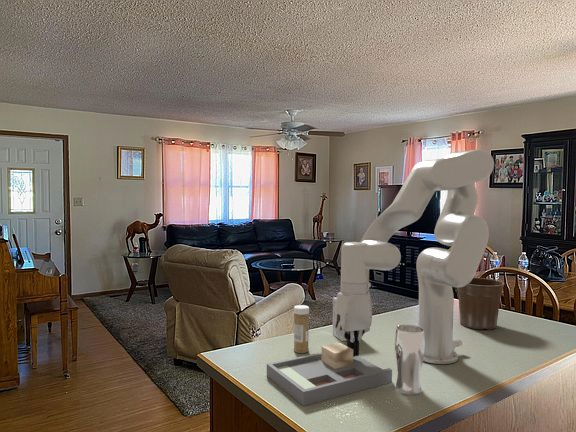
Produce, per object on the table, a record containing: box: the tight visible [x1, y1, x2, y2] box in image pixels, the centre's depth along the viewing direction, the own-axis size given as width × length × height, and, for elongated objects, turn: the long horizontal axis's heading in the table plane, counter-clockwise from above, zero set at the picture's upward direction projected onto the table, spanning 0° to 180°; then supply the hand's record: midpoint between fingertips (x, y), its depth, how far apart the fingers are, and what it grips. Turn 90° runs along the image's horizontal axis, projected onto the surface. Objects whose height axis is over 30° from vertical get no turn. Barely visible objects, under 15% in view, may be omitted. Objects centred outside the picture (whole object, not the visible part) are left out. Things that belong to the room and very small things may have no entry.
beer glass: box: [394, 323, 425, 396], centre depth 104 cm, size 7×7×15 cm
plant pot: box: [456, 277, 505, 331], centre depth 156 cm, size 16×16×16 cm
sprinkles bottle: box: [293, 304, 310, 354], centre depth 129 cm, size 5×5×13 cm
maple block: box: [321, 342, 353, 369], centre depth 115 cm, size 6×6×4 cm
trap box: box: [266, 351, 393, 407], centre depth 110 cm, size 26×18×3 cm
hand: (352, 354), depth 118 cm, fingers closed
